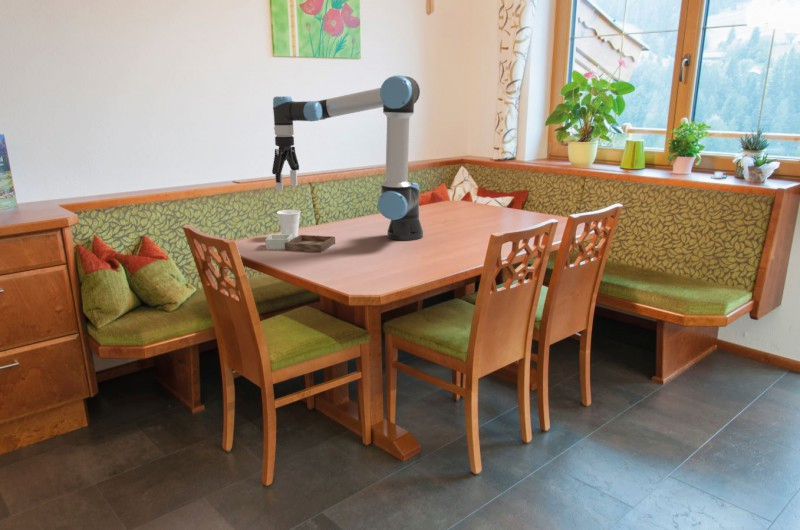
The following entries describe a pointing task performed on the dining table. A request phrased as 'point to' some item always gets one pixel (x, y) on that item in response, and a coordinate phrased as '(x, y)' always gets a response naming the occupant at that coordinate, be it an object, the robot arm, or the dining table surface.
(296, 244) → the brown square tray
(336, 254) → the dining table surface
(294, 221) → the cup
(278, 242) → the small crate
